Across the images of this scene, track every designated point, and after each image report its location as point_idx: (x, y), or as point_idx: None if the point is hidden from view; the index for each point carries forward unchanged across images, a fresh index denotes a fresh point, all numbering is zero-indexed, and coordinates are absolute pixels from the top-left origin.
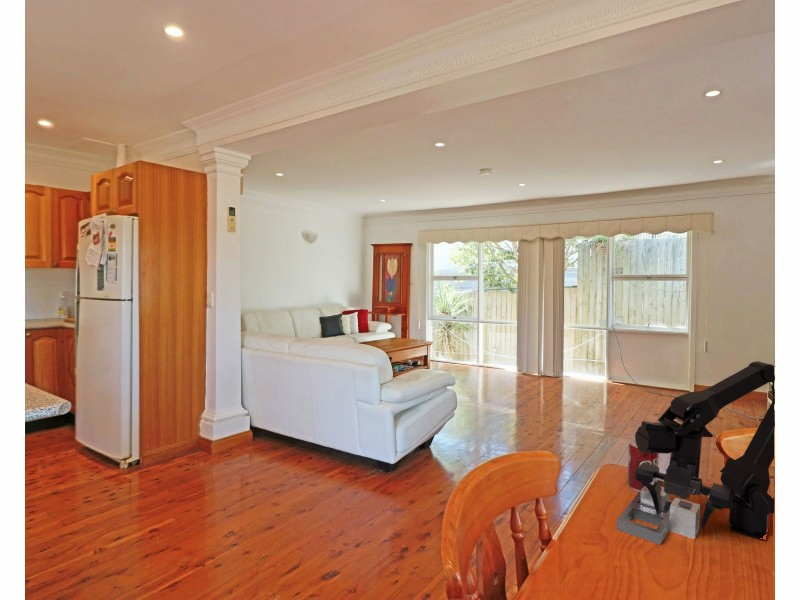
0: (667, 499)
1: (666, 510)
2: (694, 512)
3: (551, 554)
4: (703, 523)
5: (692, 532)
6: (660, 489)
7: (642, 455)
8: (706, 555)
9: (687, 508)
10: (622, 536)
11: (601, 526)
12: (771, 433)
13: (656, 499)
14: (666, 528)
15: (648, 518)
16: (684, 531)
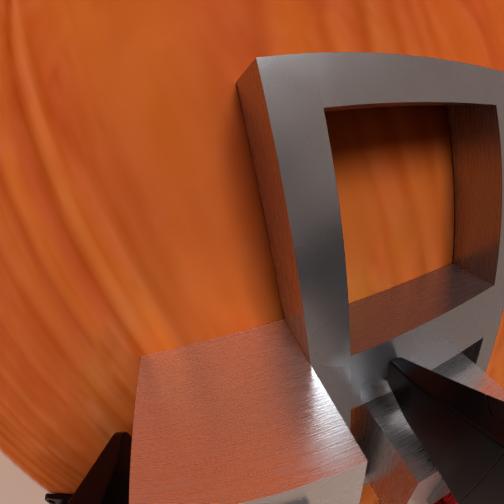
0: (378, 480)
1: (355, 434)
2: None
3: None
4: (102, 464)
5: (151, 380)
6: (459, 499)
7: None
8: (8, 241)
9: None
10: (415, 25)
11: (490, 61)
12: None
13: (473, 415)
14: (287, 266)
15: (410, 300)
16: (197, 361)
